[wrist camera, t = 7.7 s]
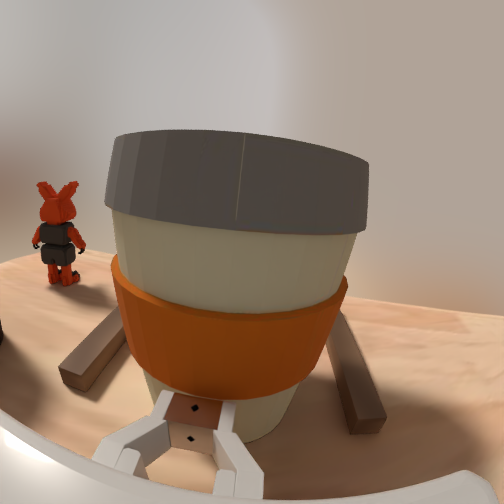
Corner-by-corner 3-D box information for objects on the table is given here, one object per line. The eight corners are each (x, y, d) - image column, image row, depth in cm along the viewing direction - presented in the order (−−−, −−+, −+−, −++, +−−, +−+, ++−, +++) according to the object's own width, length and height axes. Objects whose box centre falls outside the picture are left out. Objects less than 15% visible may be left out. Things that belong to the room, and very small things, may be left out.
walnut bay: (331, 310, 31) (334, 298, 31) (378, 432, 14) (387, 417, 14) (151, 287, 32) (150, 275, 32) (63, 382, 15) (58, 366, 14)
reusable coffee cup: (242, 329, 26) (262, 159, 22) (349, 410, 16) (417, 178, 12) (106, 360, 18) (95, 145, 14) (178, 504, 9) (159, 109, 5)
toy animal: (100, 273, 33) (99, 179, 30) (82, 290, 28) (78, 182, 25) (53, 267, 33) (50, 179, 29) (32, 281, 27) (25, 183, 24)
